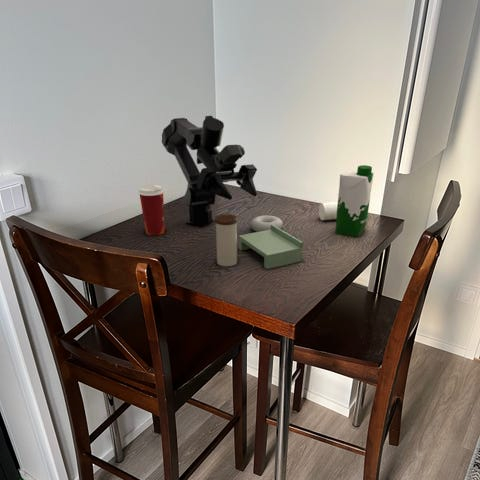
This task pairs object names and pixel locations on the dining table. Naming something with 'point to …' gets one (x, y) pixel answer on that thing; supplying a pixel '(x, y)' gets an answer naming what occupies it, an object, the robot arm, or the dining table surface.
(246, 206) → the dining table surface
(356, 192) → the milk carton
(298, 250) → the shelf
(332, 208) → the roll
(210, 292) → the dining table surface
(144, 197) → the paper cup
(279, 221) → the donut
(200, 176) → the robot arm
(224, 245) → the canister
